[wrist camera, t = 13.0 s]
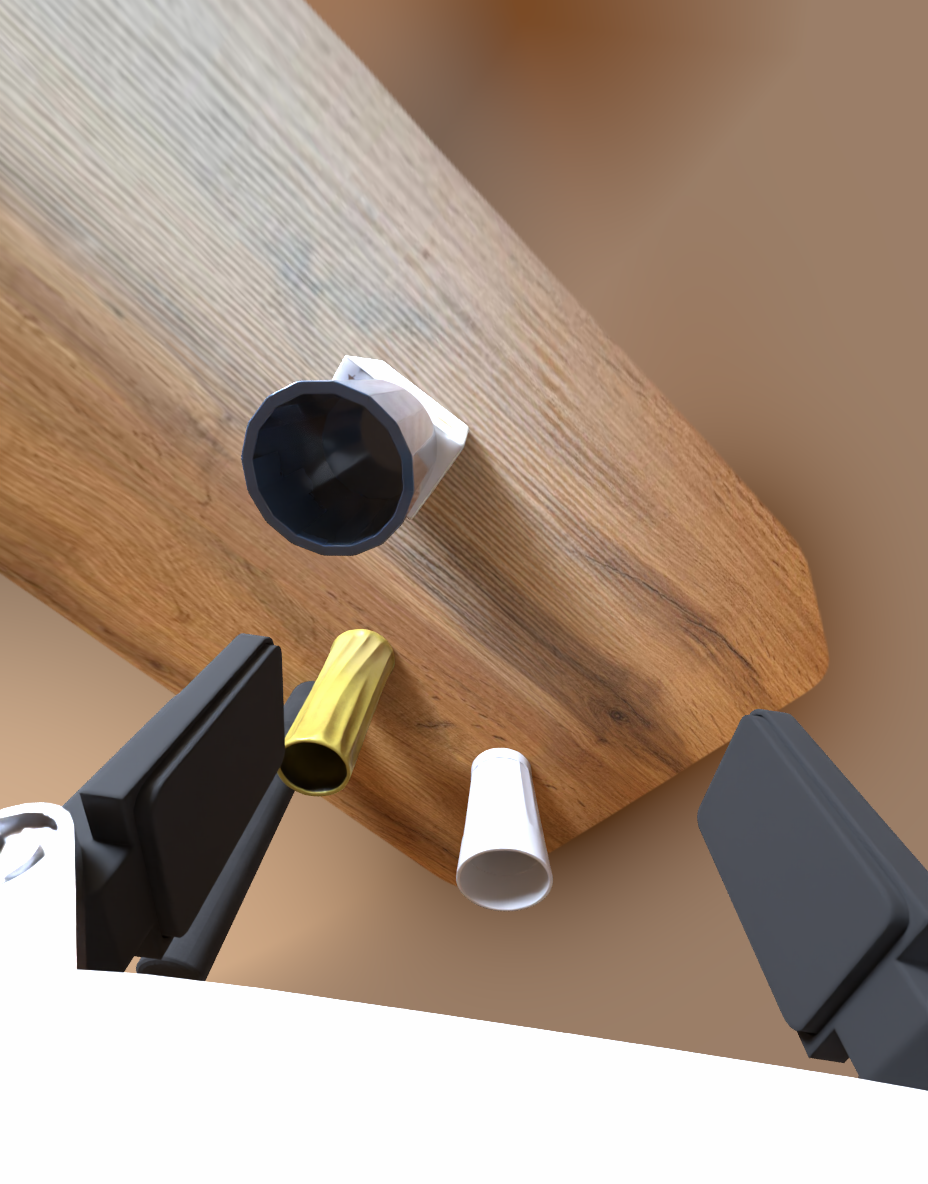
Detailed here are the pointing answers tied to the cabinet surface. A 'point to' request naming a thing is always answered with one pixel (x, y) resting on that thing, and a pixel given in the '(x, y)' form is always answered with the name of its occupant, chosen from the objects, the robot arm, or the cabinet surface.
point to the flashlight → (229, 879)
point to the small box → (446, 425)
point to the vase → (337, 714)
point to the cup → (503, 836)
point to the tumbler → (338, 462)
